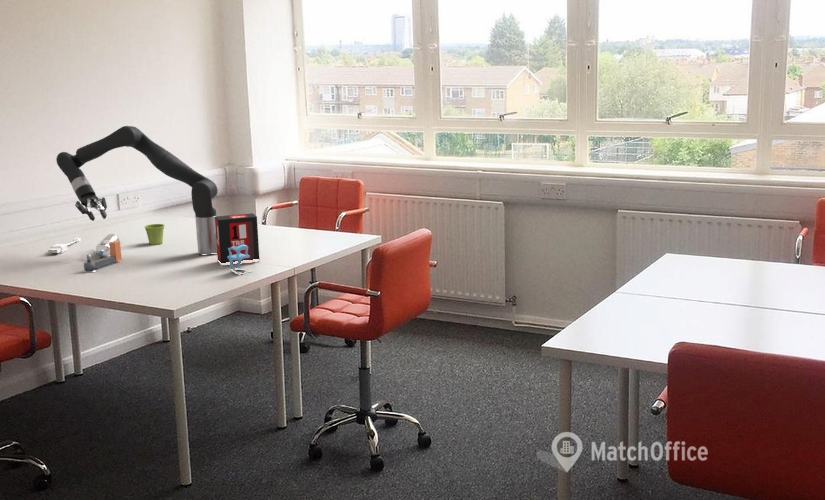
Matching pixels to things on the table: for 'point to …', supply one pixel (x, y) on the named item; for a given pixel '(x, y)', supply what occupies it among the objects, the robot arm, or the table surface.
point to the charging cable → (61, 247)
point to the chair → (237, 255)
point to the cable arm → (114, 256)
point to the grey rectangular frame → (101, 267)
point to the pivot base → (89, 262)
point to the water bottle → (105, 245)
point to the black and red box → (236, 235)
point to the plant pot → (155, 233)
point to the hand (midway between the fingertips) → (99, 218)
